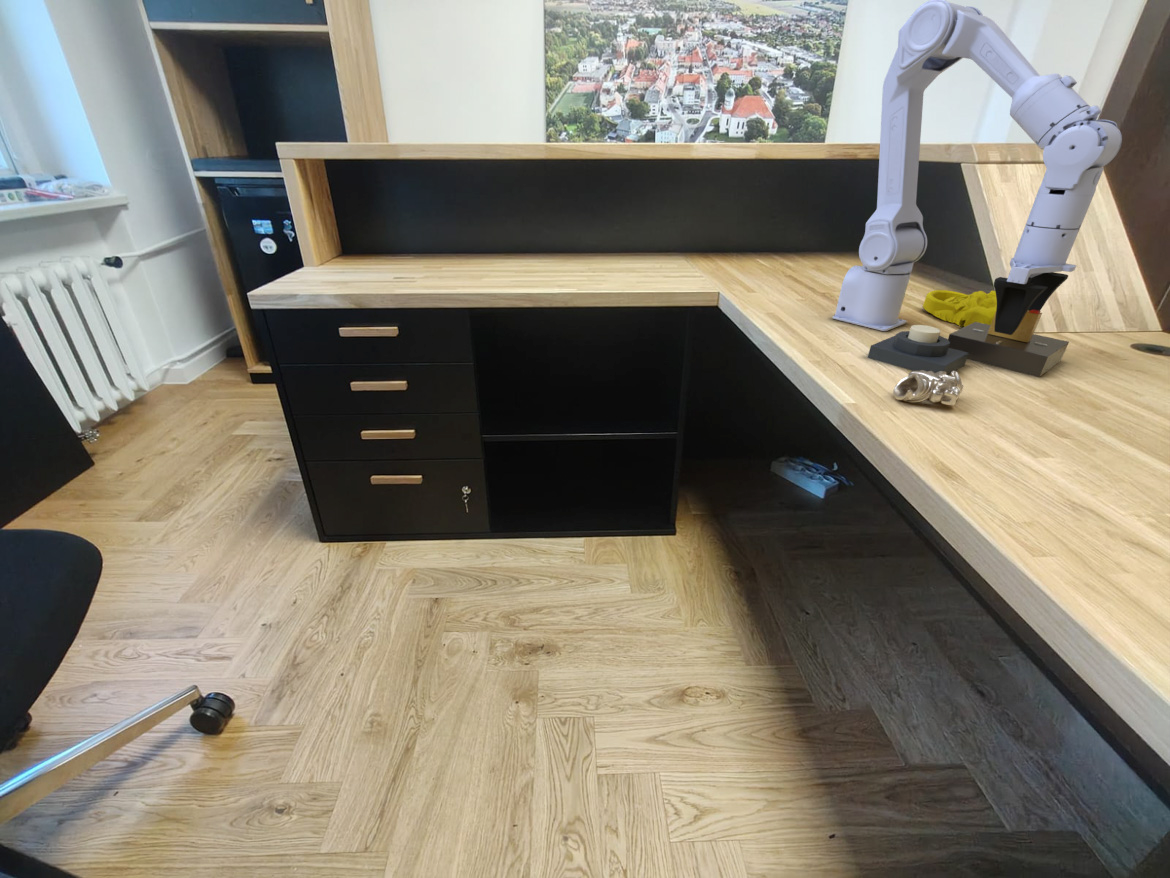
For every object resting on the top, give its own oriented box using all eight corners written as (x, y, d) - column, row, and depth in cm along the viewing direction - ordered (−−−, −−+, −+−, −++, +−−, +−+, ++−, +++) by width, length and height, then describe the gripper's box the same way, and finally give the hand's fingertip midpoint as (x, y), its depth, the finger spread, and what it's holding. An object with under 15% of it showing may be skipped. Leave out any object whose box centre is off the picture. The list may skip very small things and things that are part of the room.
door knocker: (908, 304, 107) (914, 282, 105) (991, 304, 107) (999, 282, 105) (957, 330, 93) (965, 305, 91) (1053, 331, 92) (1064, 306, 90)
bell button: (902, 340, 78) (906, 328, 77) (914, 335, 80) (917, 323, 79) (929, 346, 75) (934, 334, 74) (940, 341, 77) (944, 329, 76)
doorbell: (867, 358, 80) (873, 334, 78) (892, 346, 85) (899, 324, 83) (941, 379, 73) (949, 353, 72) (964, 365, 78) (973, 341, 76)
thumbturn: (987, 333, 81) (998, 305, 79) (990, 332, 82) (1001, 303, 80) (1027, 342, 77) (1039, 312, 75) (1030, 340, 78) (1042, 311, 76)
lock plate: (942, 353, 82) (949, 332, 81) (968, 340, 88) (975, 320, 86) (1038, 377, 74) (1048, 355, 73) (1060, 361, 80) (1069, 340, 78)
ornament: (921, 417, 63) (931, 387, 61) (880, 392, 69) (888, 365, 67) (979, 410, 65) (990, 381, 63) (934, 387, 71) (943, 360, 69)
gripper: (1074, 235, 66) (1029, 345, 72) (1104, 225, 74) (1061, 325, 80) (1006, 228, 70) (969, 332, 77) (1041, 219, 78) (1005, 314, 85)
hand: (1012, 327), depth 79 cm, fingers open, 7 cm apart
